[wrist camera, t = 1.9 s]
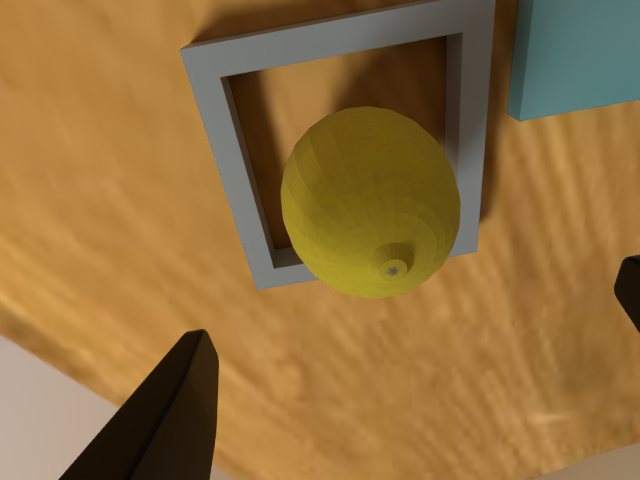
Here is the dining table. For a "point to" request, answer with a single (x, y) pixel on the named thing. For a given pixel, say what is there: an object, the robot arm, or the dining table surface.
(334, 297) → the dining table surface
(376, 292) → the lemon
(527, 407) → the dining table surface
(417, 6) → the holder
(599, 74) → the tile
